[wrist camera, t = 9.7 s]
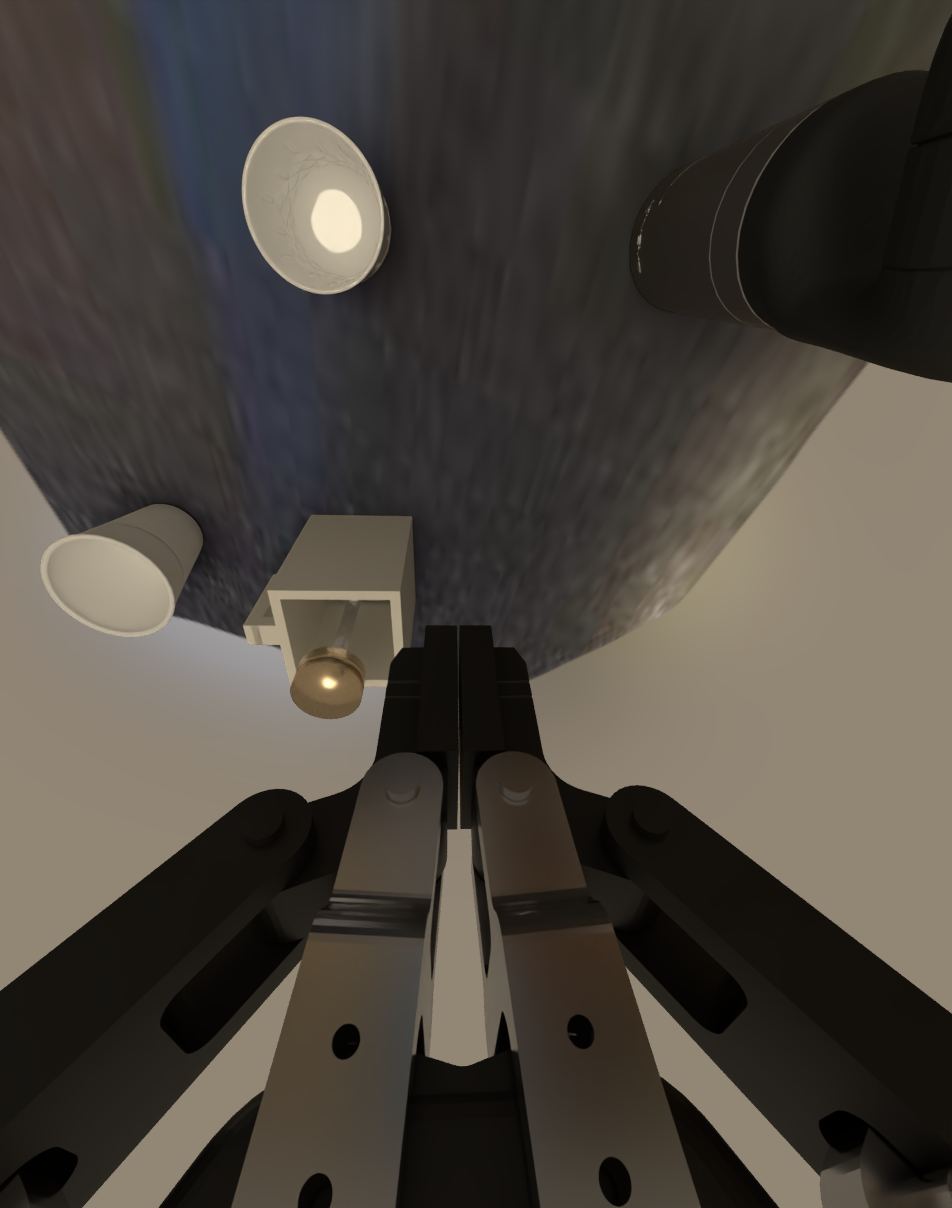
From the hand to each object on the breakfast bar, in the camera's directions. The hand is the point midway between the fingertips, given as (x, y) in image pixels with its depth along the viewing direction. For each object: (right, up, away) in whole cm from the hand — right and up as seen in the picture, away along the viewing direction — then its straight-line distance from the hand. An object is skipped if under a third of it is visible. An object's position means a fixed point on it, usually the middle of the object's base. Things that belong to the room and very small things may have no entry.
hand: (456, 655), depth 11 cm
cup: (-30, +9, +38) cm, 49 cm away
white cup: (-9, +29, +25) cm, 39 cm away
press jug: (-13, +6, +40) cm, 42 cm away
